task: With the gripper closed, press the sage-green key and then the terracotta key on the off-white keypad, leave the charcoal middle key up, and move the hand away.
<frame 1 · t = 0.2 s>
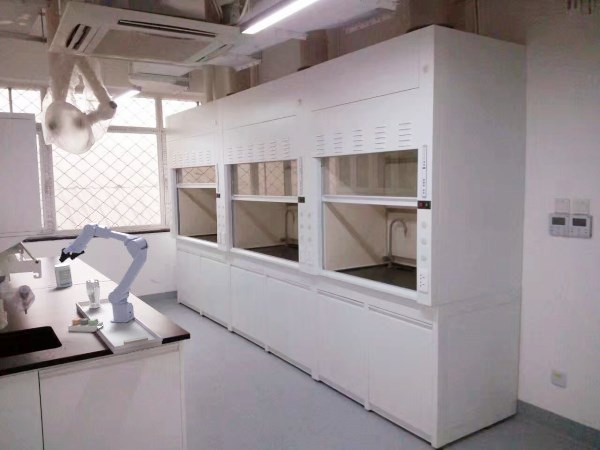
hand: (65, 260, 242), 31 cm above the table, tool tilted 45°, fingers open, 7 cm apart
keypad: (86, 328, 229), on the table
supplement tub: (64, 286, 324), on the table
beer glass: (95, 307, 267), on the table
terracotta key: (77, 321, 230), point 4 cm above the table, slide at 0.0 cm
grey key: (85, 321, 229), point 3 cm above the table, slide at 0.0 cm
sage key: (93, 322, 228), point 4 cm above the table, slide at 0.0 cm
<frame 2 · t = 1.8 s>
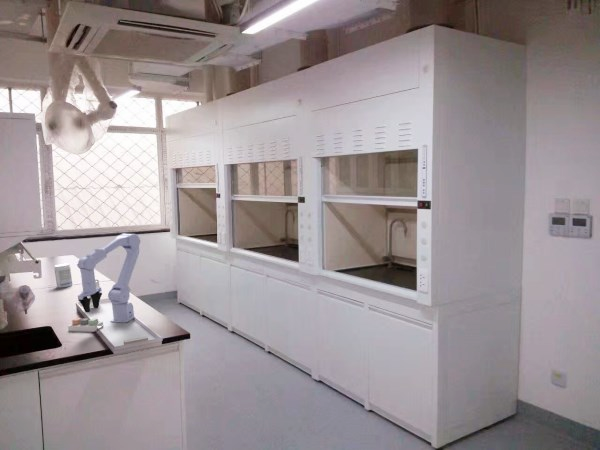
hand: (91, 310, 227), 9 cm above the table, tool pointing down, fingers open, 6 cm apart
nothing on the table moved.
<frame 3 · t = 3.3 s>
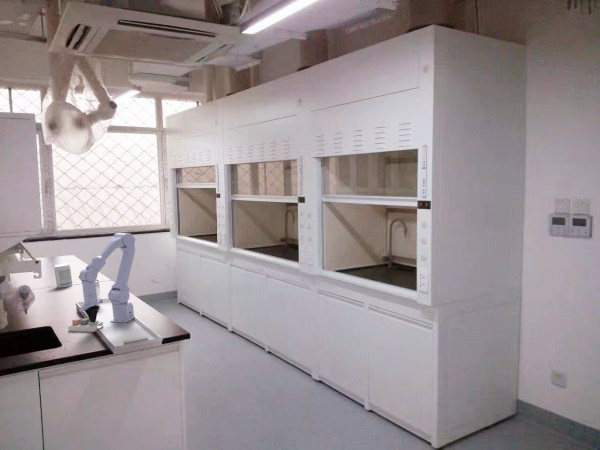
hand: (93, 321, 228), 4 cm above the table, tool pointing down, fingers closed, pressing on sage key
sage key: (93, 324, 228), point 2 cm above the table, slide at 1.0 cm, touching gripper
everything else where it was.
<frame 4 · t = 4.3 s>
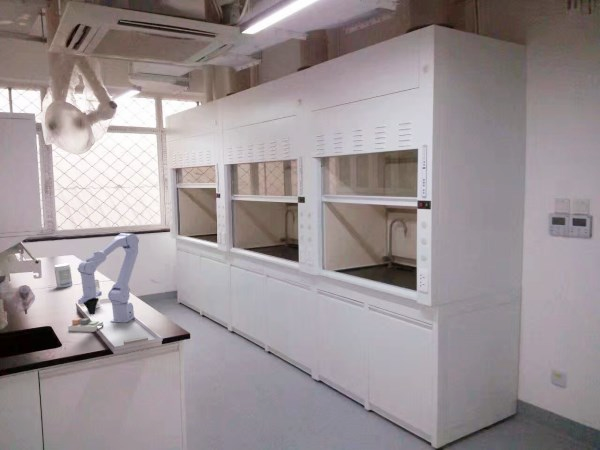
hand: (92, 314, 227), 7 cm above the table, tool pointing down, fingers closed
sage key: (93, 324, 228), point 2 cm above the table, slide at 1.4 cm
everything else where it was.
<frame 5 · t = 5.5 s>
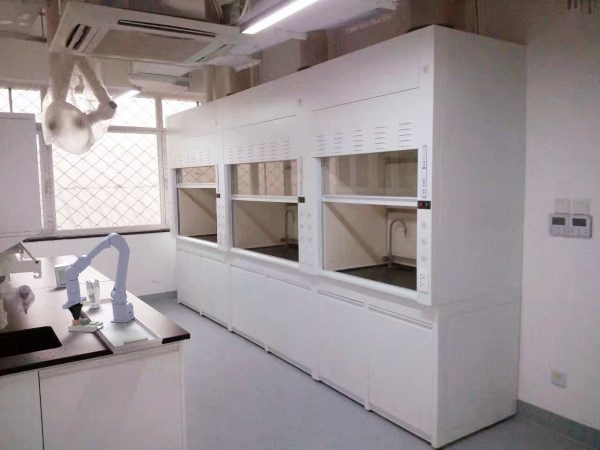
hand: (76, 319, 230), 5 cm above the table, tool pointing down, fingers closed, pressing on terracotta key
terracotta key: (77, 321, 230), point 3 cm above the table, slide at 0.0 cm, touching gripper
everything else where it was.
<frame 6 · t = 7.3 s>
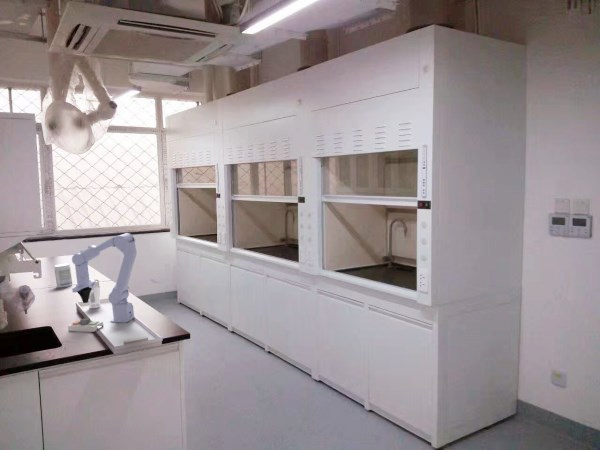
hand: (85, 302, 242), 9 cm above the table, tool pointing down, fingers closed
terracotta key: (77, 324, 230), point 2 cm above the table, slide at 1.4 cm
everything else where it was.
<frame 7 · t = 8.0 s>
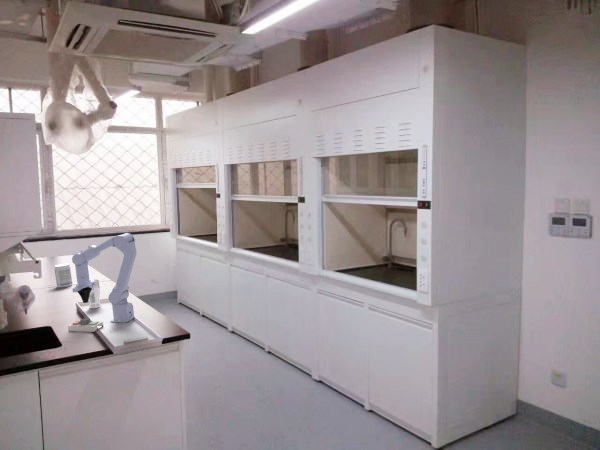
hand: (85, 302, 242), 9 cm above the table, tool pointing down, fingers closed
nothing on the table moved.
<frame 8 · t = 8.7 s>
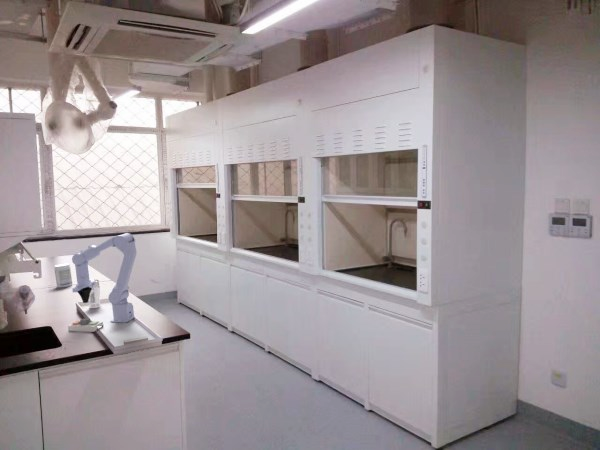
hand: (85, 302, 242), 9 cm above the table, tool pointing down, fingers closed
nothing on the table moved.
at the end: sage key slide at 1.4 cm; terracotta key slide at 1.4 cm; grey key slide at 0.0 cm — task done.
